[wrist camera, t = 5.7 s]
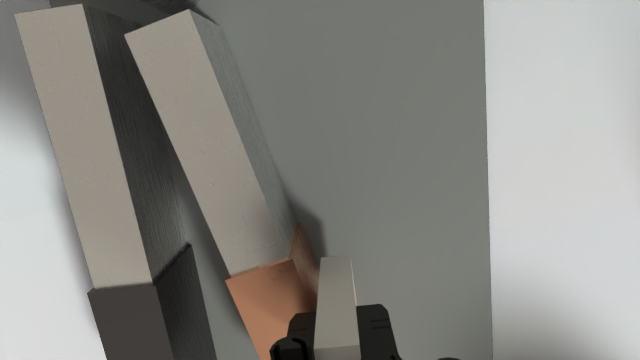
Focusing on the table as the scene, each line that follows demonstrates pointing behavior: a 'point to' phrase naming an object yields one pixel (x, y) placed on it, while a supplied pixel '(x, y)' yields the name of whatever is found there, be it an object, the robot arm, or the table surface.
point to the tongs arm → (228, 168)
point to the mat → (363, 156)
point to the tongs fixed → (117, 184)
